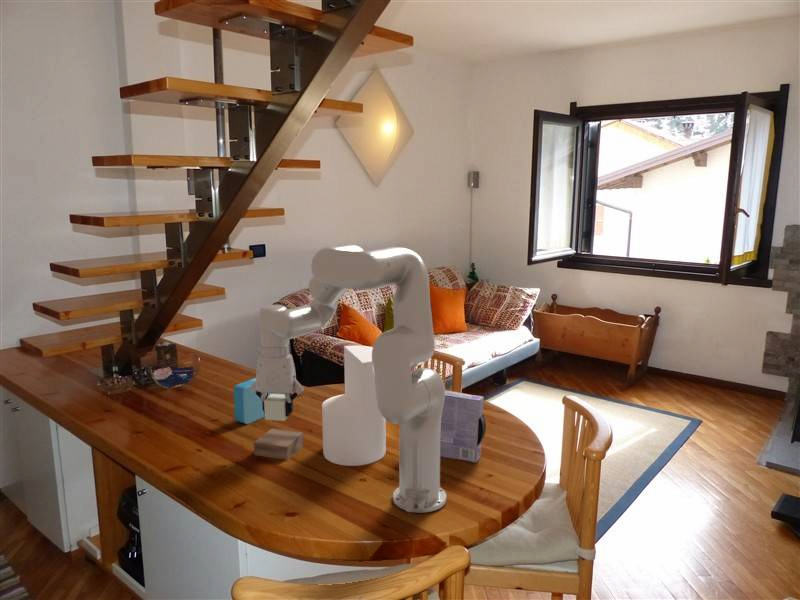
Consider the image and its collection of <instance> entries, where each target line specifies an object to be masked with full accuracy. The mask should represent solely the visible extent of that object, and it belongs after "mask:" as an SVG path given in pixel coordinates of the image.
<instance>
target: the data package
mask: <svg viewBox="0 0 800 600" xmlns="http://www.w3.org/2000/svg"><path fill="white" fill-rule="evenodd" d="M255 381H256V377H254V378H251V379H249V380H247V381H246V380H245V381H243V382H241V383H238V384H236V385H234V387H233V404H234V405H233V408H234V419H235V421H236V422H237V423H238V422H239V423H242V424H246V425H250V424H252V423H253V422H256V421H259V420H261V419H264V418H265V415H264V411H263V406H262V401H261V400H260V398H259V397H258V396H257V395H256V393H255V392H254V391H252V390H251V389H250V386H251V385H252V384H253V383H254V382H255ZM271 394H273V393H269V395H268V396H270V395H271Z"/></svg>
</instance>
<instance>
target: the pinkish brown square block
mask: <svg viewBox="0 0 800 600" xmlns="http://www.w3.org/2000/svg"><path fill="white" fill-rule="evenodd" d="M304 434H305V433H304V432H302V431H296V430H295V431H294V430H287V429H278V428H270V429H269V430H268V431H267V432H265V433H264V434H263V435H262V436H261V437H259V438H258V439H257V440H255V441H254V443H253V448H254V450H253V451H254V452H253V453H254V456H259V457H260V456H261V457H267V458H272V459H273V458H274V459H280V460H289V459H290V458H291V457H292V456H294V454H296V453H297V452H298V451H299V450H300V449H301V448H302V447H303V446H304V445H305V444H304V443H305V440H304V439H305V438H304V437H305V436H304Z"/></svg>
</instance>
